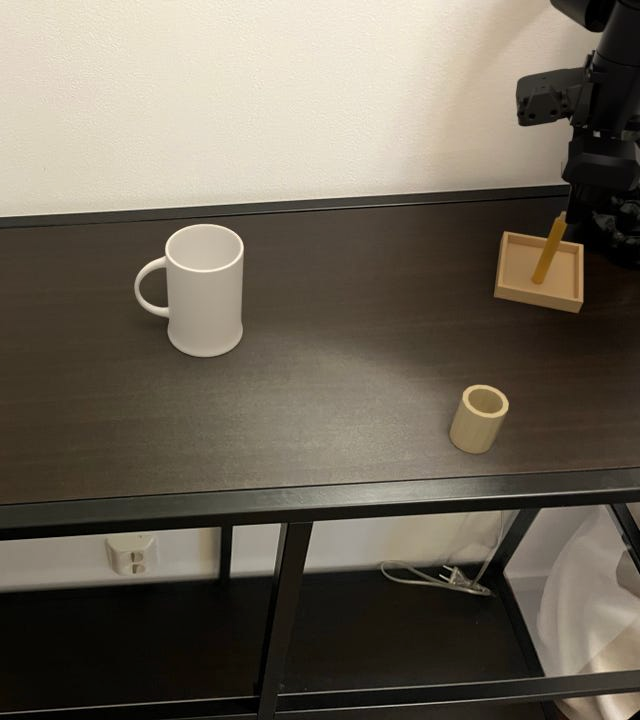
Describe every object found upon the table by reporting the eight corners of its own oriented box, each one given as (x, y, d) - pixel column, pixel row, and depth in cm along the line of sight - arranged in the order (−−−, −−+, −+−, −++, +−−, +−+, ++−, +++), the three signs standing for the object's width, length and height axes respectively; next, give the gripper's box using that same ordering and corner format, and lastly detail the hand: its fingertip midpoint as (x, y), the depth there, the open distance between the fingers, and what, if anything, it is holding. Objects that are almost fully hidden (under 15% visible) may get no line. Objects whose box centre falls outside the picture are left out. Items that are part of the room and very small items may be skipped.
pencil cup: (493, 427, 74) (509, 390, 70) (490, 458, 71) (507, 422, 67) (451, 417, 75) (465, 380, 71) (446, 447, 72) (460, 411, 68)
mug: (136, 357, 83) (127, 273, 74) (142, 305, 89) (135, 222, 80) (243, 358, 82) (247, 273, 73) (242, 306, 88) (245, 222, 79)
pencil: (543, 278, 88) (571, 210, 81) (543, 285, 87) (571, 217, 80) (531, 276, 88) (558, 208, 81) (531, 282, 87) (558, 215, 80)
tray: (500, 242, 94) (504, 231, 92) (578, 255, 91) (583, 244, 90) (493, 297, 87) (497, 286, 85) (577, 313, 84) (583, 302, 83)
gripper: (539, 5, 76) (497, 143, 87) (530, 88, 64) (482, 235, 75) (662, 16, 73) (601, 158, 84) (676, 105, 61) (603, 257, 72)
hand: (570, 198), depth 79 cm, fingers open, 9 cm apart
